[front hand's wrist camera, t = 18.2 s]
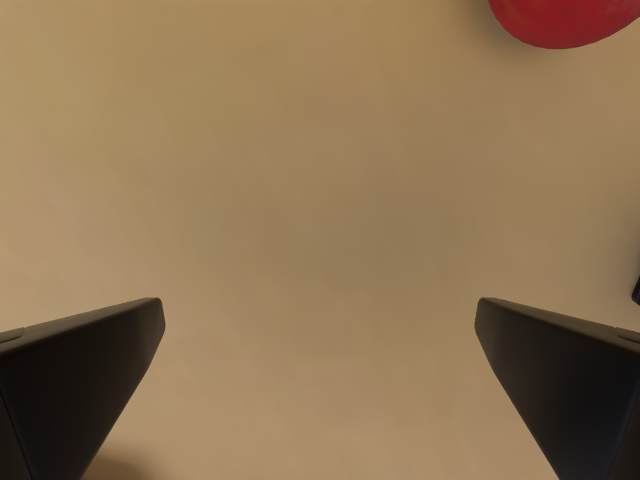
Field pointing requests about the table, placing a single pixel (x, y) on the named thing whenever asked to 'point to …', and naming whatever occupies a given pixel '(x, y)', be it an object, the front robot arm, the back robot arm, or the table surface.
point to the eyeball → (564, 20)
